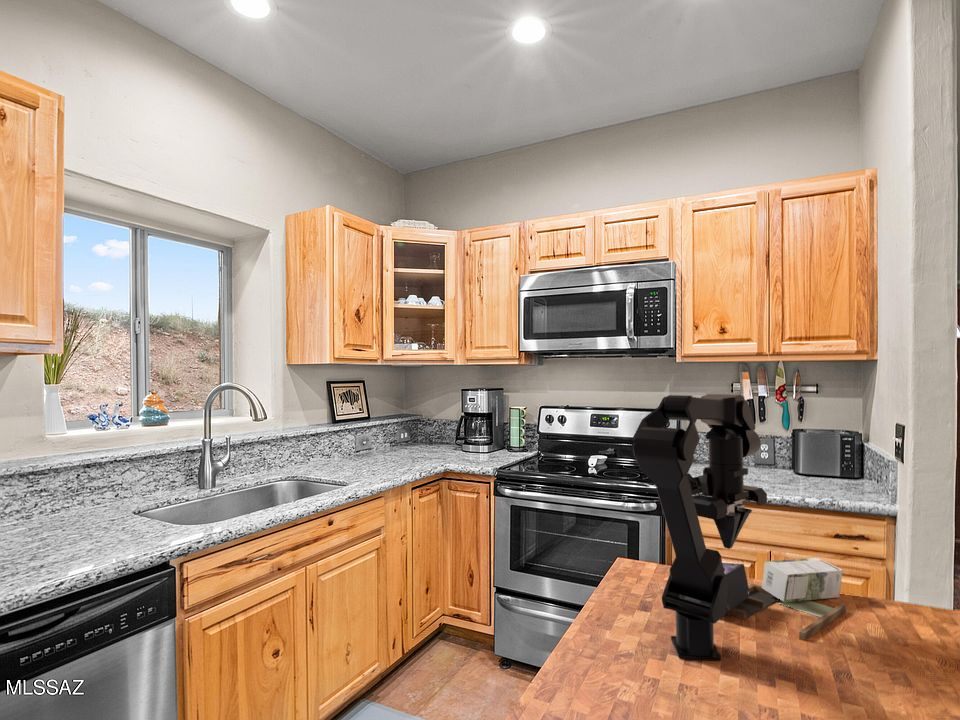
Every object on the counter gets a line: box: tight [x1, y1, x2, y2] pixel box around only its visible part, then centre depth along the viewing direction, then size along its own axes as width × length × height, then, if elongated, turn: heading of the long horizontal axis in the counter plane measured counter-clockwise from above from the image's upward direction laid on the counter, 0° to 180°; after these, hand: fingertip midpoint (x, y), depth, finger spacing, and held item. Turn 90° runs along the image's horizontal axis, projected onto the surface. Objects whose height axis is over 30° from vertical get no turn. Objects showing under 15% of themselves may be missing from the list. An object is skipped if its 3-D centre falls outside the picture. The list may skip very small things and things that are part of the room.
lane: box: [726, 583, 847, 642], centre depth 103 cm, size 18×16×1 cm
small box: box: [679, 562, 750, 611], centre depth 106 cm, size 11×6×10 cm
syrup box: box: [761, 557, 844, 602], centre depth 109 cm, size 6×6×14 cm
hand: (727, 547), depth 100 cm, fingers closed
